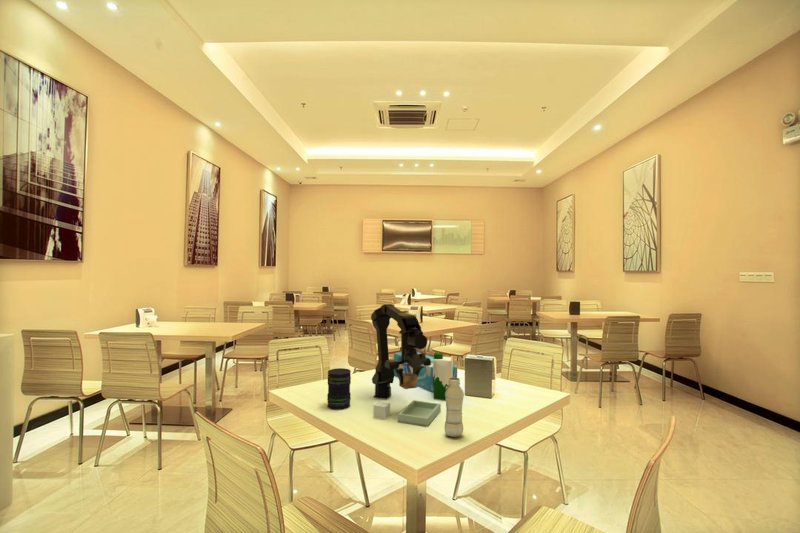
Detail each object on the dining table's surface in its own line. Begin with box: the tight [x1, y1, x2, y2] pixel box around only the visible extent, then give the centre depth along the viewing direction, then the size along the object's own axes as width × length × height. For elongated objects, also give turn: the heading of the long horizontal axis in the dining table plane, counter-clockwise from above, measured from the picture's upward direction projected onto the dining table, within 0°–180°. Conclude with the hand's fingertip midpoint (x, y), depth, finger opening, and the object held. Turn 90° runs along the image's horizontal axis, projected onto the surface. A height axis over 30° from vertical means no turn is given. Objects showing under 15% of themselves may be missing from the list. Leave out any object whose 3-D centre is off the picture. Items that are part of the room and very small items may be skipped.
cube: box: [373, 401, 391, 420], centre depth 156 cm, size 5×5×5 cm
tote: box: [397, 399, 442, 428], centre depth 157 cm, size 12×18×3 cm, turn 158°
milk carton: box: [432, 352, 454, 401], centre depth 181 cm, size 9×9×20 cm
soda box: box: [393, 351, 458, 395], centre depth 206 cm, size 40×14×13 cm, turn 31°
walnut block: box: [398, 373, 418, 390], centre depth 161 cm, size 6×6×5 cm
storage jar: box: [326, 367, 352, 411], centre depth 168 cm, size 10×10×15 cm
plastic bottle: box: [443, 377, 465, 438], centre depth 138 cm, size 6×7×20 cm
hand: (408, 383), depth 161 cm, fingers closed on walnut block, 5 cm apart
